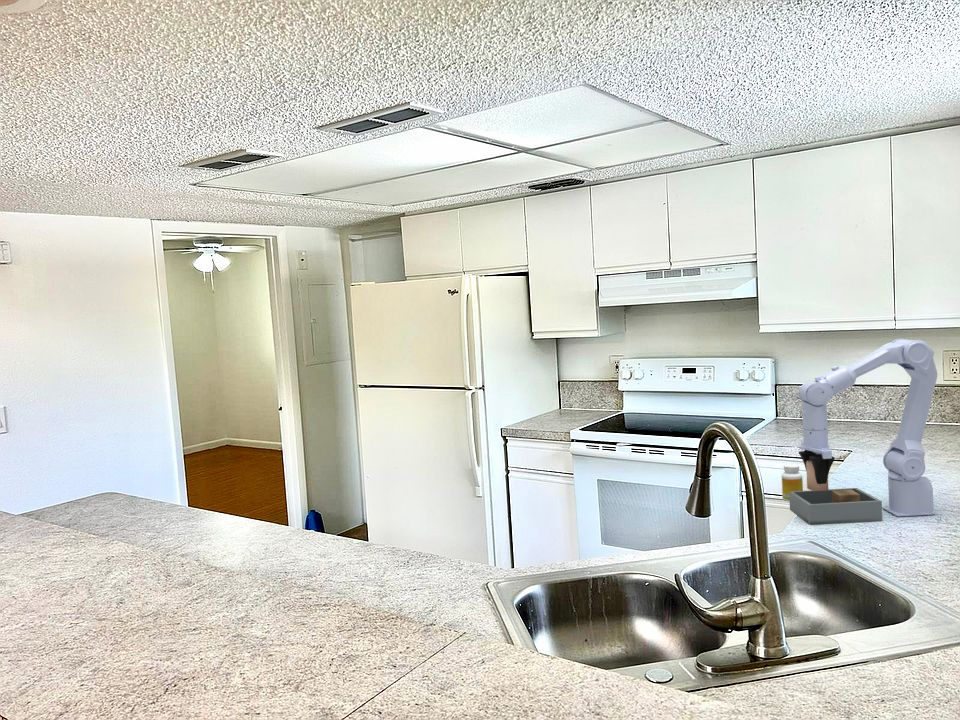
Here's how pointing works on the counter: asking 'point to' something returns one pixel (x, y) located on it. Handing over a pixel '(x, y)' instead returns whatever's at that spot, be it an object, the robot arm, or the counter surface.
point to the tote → (834, 507)
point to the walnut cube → (845, 496)
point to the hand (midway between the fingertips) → (817, 481)
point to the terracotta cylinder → (813, 479)
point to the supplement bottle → (791, 480)
